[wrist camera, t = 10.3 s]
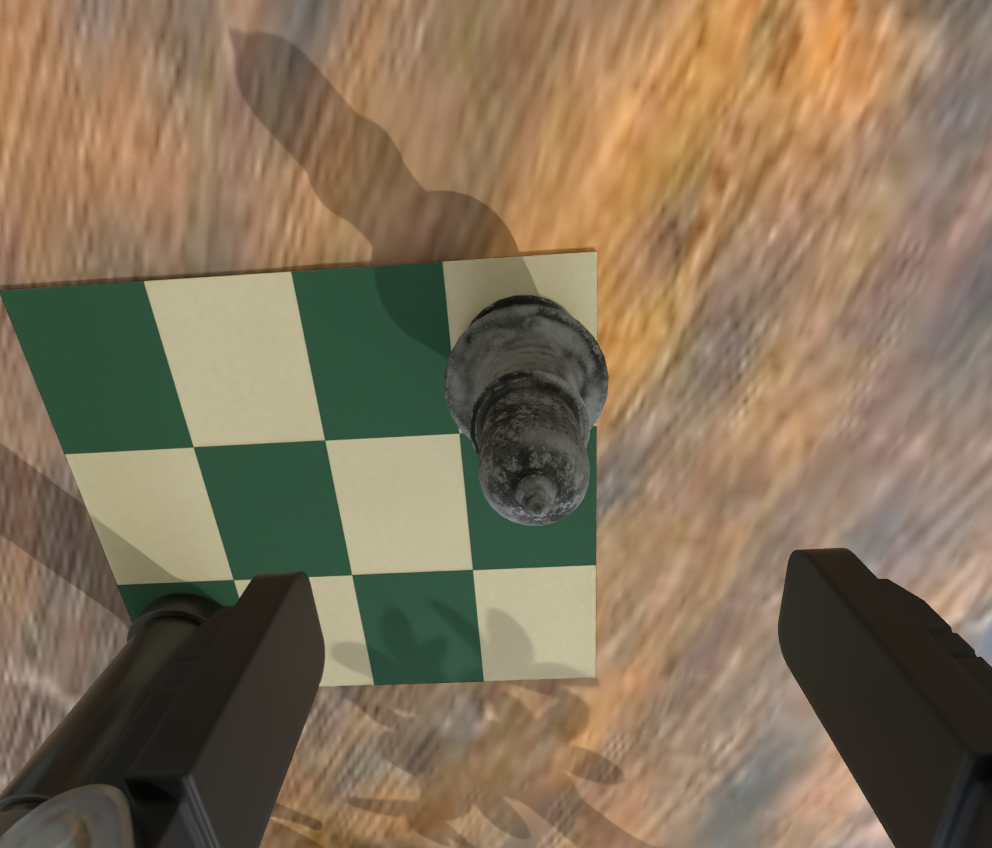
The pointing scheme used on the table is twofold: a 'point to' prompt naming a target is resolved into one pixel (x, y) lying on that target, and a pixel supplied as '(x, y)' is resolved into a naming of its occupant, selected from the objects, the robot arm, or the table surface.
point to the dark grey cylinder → (106, 706)
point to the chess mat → (318, 458)
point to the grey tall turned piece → (528, 405)
